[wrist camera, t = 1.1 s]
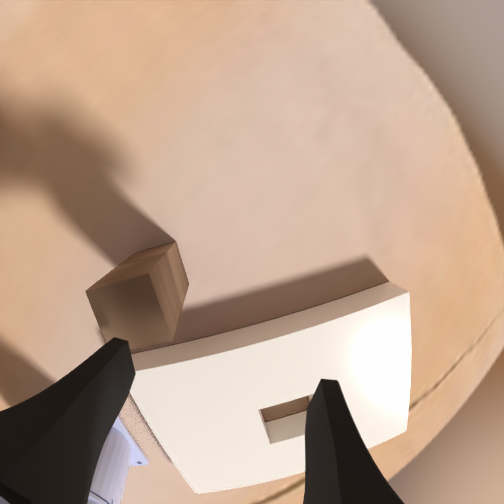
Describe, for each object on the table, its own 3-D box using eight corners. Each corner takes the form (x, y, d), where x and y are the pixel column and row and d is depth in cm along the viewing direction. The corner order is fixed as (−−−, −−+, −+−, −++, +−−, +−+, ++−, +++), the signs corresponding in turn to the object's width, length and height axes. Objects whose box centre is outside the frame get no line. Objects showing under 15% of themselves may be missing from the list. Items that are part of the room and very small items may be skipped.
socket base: (196, 473, 25) (196, 493, 22) (129, 354, 22) (120, 373, 19) (393, 414, 27) (406, 430, 24) (389, 281, 23) (409, 291, 20)
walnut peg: (148, 294, 21) (111, 353, 13) (134, 253, 21) (85, 291, 12) (189, 283, 22) (173, 340, 13) (176, 241, 21) (148, 273, 12)
